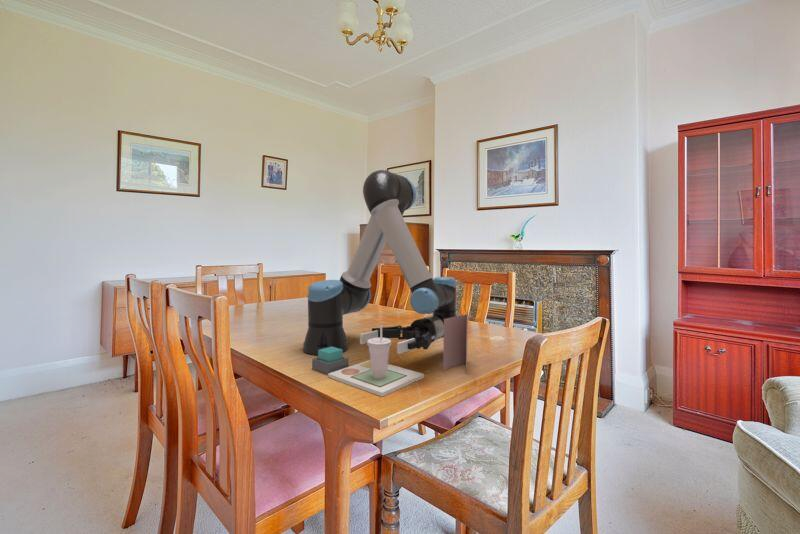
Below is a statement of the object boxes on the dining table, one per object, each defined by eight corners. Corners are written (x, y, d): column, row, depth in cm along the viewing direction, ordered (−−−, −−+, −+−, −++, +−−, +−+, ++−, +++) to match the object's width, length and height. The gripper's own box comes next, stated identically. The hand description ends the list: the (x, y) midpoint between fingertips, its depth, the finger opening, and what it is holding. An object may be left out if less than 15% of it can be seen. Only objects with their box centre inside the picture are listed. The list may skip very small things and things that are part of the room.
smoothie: (388, 381, 96) (388, 328, 95) (364, 379, 97) (363, 326, 96) (393, 372, 102) (393, 322, 101) (371, 370, 104) (370, 321, 103)
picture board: (328, 377, 102) (328, 373, 102) (371, 362, 115) (371, 358, 115) (382, 396, 89) (382, 392, 89) (424, 377, 102) (424, 373, 102)
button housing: (312, 369, 109) (312, 358, 108) (332, 362, 114) (332, 353, 114) (328, 374, 104) (328, 364, 104) (348, 368, 109) (348, 358, 109)
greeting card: (464, 361, 117) (465, 313, 116) (484, 366, 112) (485, 317, 111) (440, 369, 109) (441, 318, 108) (461, 376, 104) (462, 322, 103)
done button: (318, 360, 109) (318, 350, 108) (331, 356, 112) (331, 346, 112) (329, 363, 105) (329, 353, 105) (342, 359, 109) (342, 349, 109)
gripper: (461, 349, 107) (415, 368, 91) (395, 335, 123) (347, 348, 107) (461, 323, 107) (416, 337, 91) (395, 312, 123) (347, 323, 107)
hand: (378, 343), depth 99 cm, fingers open, 13 cm apart
